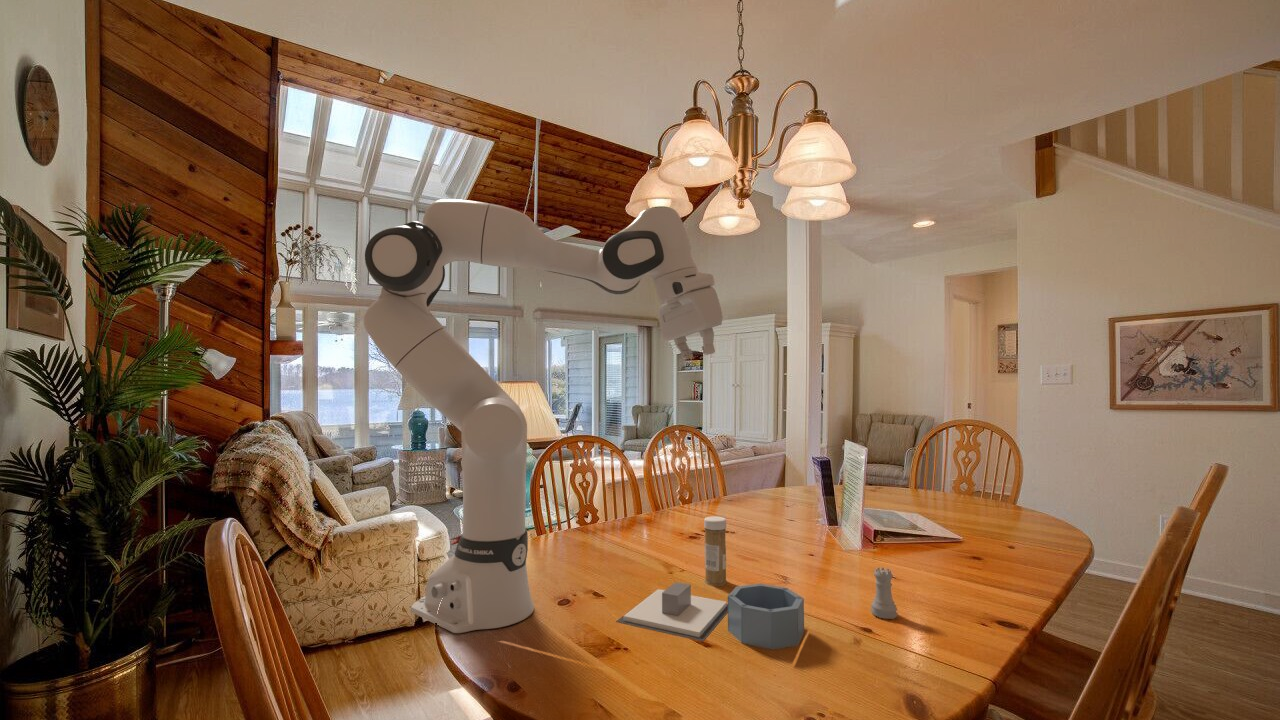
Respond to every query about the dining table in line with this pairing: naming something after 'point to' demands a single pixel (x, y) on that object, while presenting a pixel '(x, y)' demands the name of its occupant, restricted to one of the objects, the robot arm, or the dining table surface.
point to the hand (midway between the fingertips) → (698, 356)
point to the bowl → (766, 616)
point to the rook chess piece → (883, 595)
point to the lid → (677, 610)
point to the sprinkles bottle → (715, 551)
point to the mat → (680, 633)
